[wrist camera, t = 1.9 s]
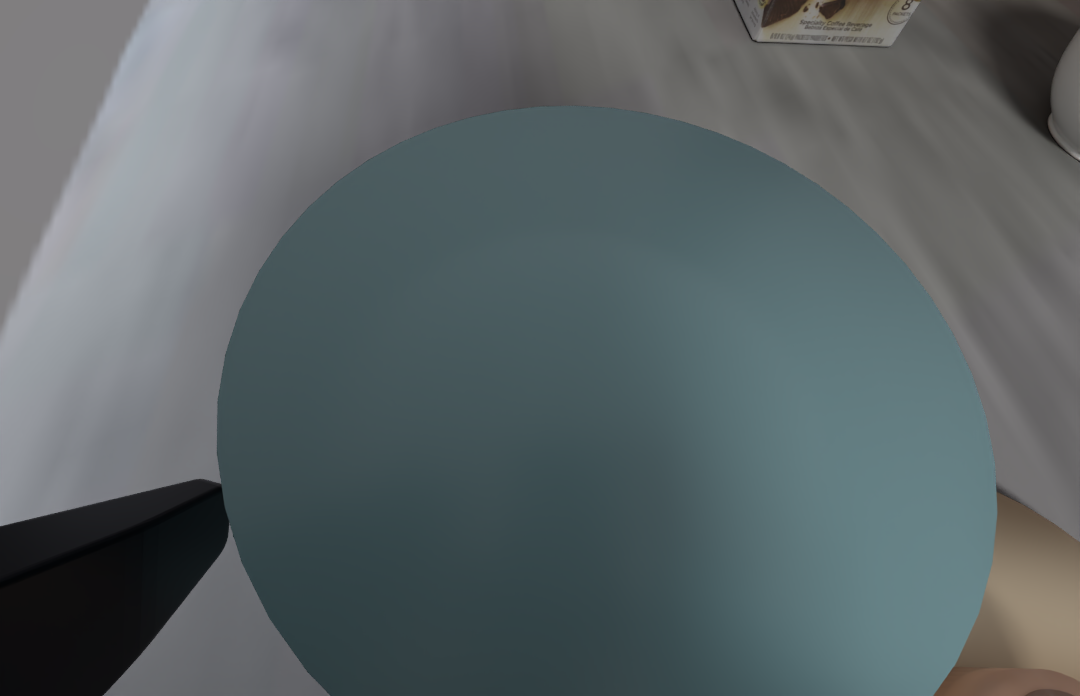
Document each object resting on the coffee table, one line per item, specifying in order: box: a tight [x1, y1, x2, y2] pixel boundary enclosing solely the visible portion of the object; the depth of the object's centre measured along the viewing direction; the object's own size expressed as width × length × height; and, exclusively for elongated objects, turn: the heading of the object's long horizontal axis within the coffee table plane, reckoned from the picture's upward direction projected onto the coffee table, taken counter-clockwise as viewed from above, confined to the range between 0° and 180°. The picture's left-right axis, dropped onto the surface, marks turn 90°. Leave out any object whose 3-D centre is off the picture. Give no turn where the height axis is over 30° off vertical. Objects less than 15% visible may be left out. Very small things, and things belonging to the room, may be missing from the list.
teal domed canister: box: [217, 106, 997, 696], centre depth 11 cm, size 7×7×13 cm
